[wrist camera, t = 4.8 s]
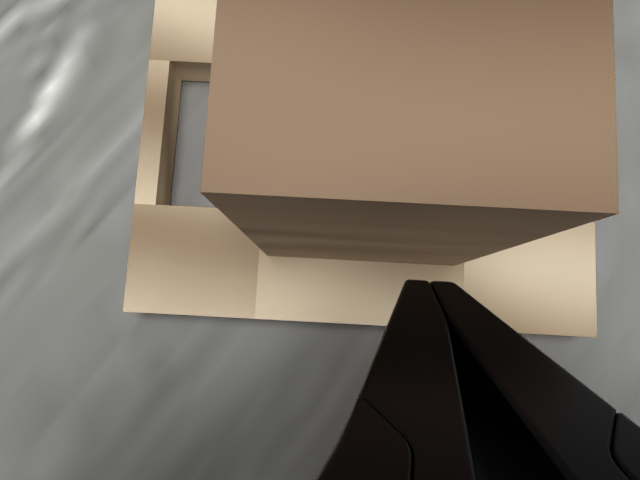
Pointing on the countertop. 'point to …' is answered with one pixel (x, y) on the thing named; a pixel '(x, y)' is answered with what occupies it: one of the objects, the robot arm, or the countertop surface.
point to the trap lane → (308, 273)
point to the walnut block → (410, 125)
